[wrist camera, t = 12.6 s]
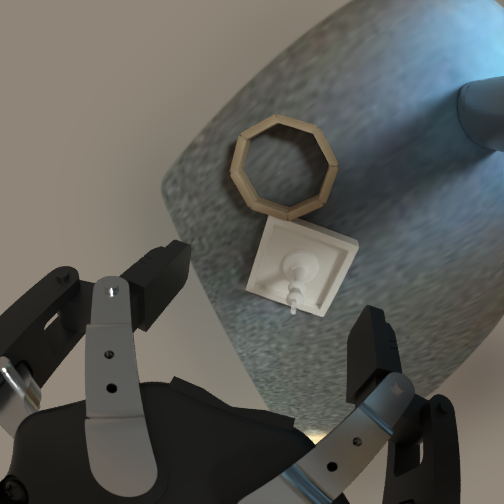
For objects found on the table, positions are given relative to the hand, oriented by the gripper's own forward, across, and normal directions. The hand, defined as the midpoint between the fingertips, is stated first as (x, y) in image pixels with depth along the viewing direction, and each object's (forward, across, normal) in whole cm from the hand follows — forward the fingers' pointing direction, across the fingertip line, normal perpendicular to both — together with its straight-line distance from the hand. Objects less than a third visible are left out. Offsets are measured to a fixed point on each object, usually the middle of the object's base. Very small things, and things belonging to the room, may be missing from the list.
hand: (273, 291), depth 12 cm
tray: (+24, -2, +11) cm, 27 cm away
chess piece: (+23, -2, +11) cm, 26 cm away
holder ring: (+24, +3, -1) cm, 24 cm away
